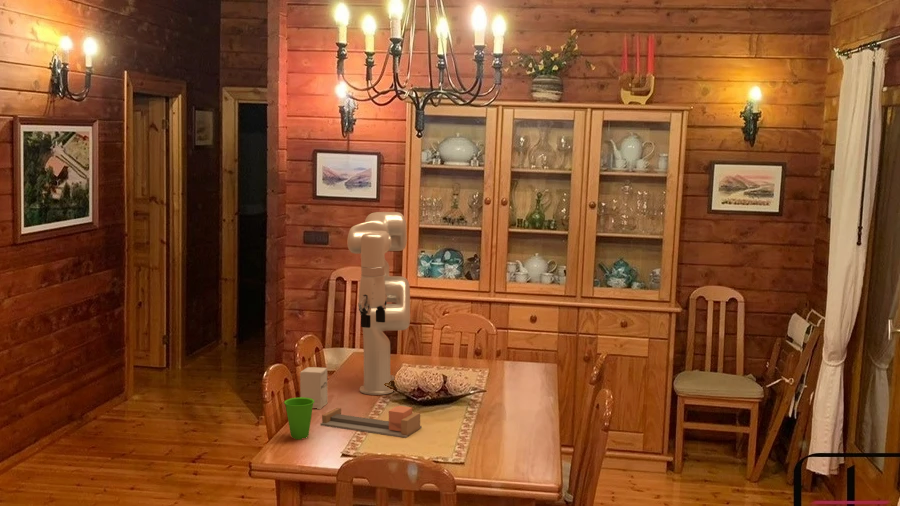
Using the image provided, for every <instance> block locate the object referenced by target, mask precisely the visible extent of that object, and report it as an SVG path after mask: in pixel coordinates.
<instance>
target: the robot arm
mask: <svg viewBox="0 0 900 506" xmlns="http://www.w3.org/2000/svg"><path fill="white" fill-rule="evenodd" d="M406 222H407V221H406V218H405V216H404V215H403V214H402V213H401V212H399V211H376V212H372V213H370V214H368V215H367V216H366V217H365V220H364V222H361V223H358V224H355V225H353V226H351V228H350V229H349V231H348V234H347V244H346V245H347V248H348V251H349V252H350V253H352V254H355V255H357V254H358V255H359V254H360V274H361V275H360V281H359V291H358V303H357V306H358V311H359V315H360V327H361V328H362V335H363V337H362V339H363V385H360V387H359V392H360V393H361V394H365V395H372V396H379V395H380V396H383V395H387V394H391V393H393V389H389V388H388V387H387V386H385V385H384V384H385V383H389V382H390V381H391V382H392V381H394V380H395V375H394V374H391V341H390V339H389V337H388V336H387V335H386V334H385V332H386V331H405V330H407V329H408V328H409V327H410V323H411V287H410V283H409V280H408V279H407V278H406V277H404V276H399V275H398V276H397V275H393V276H392V275H390V264H389V262H388V261H387V260H386V257H385V254H386V253H388V252H400V251H403V250H404V249H406V246H407V242H408V235H407V233H408V232H407V223H406ZM391 382H390V383H391Z"/></svg>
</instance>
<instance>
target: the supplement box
mask: <svg viewBox="0 0 900 506" xmlns="http://www.w3.org/2000/svg"><path fill="white" fill-rule="evenodd" d="M299 374H300V375H299V377H300V378H299V381H300V383H299V384H300V385H299V387H300V392H299V393H300V396H299V397H305V398H311V399H313V400H314V401H315V402H314V403H313V408H317V409H316V410H321V409H322V408H324V406H326V405H327V404H328V367H317V366H316V367H314V366H313V367H312V366H308V367H306V368H304V369H303V370H301V371H300V372H299Z"/></svg>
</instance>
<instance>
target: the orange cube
mask: <svg viewBox="0 0 900 506" xmlns="http://www.w3.org/2000/svg"><path fill="white" fill-rule="evenodd" d="M412 413H413V407H412V406H411V407H410V406H404V405H396V406H395V407H393V408H391V409H389V410H388V421H389V430H394V431H401V420H402V419H404V418H406V417H407V416H409V415H411V414H412Z"/></svg>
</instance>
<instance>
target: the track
mask: <svg viewBox="0 0 900 506" xmlns="http://www.w3.org/2000/svg"><path fill="white" fill-rule="evenodd" d="M321 419H322V420H321V423H320V426H322V425H325V426H324V427H329V426H331V427H330V428H336V427H337V429H344V430H350V431H356V430H359V431H358V432H363V431H365V432H366V433H371V434H378V435H384V436H390V437H397V438H403V437H404V439H406V438H408V437H409V436H411V435H413V434H414V433H416V432H418V431H419V430H421V429H422V425H421V412H416V411H414V412H412V414H411V415H409V416H407V417H406V418H404V419H402V420H401V431H394V430H389V420H383V419H375V418H369V417H361V416H356V415H354V416H353V415H345V414H342V408H341V407H336V408H334V409H331V410H329V411H328V412H325V413H323V414H322V417H321ZM365 432H364V433H365Z"/></svg>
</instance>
